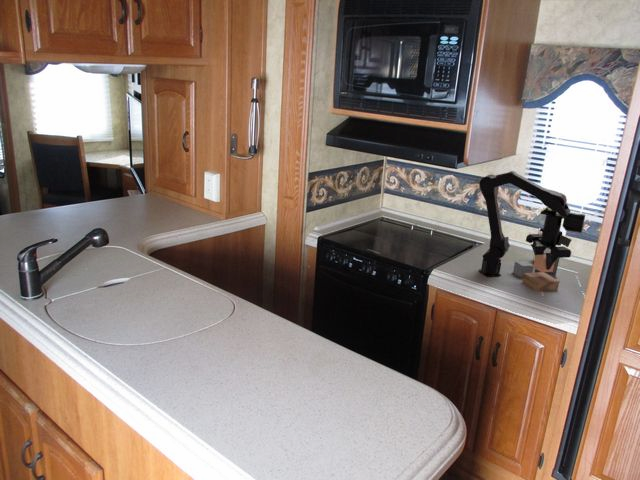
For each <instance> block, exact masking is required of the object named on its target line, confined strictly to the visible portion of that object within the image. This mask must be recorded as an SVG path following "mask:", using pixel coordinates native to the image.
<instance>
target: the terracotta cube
mask: <svg viewBox="0 0 640 480" xmlns="http://www.w3.org/2000/svg"><path fill="white" fill-rule="evenodd" d="M554 264H555V262H554ZM554 264H553V265H552V267H551V268H550V269H549V270H547V269H546V254H545V255H535V260H533V264H532V265H533V269H534V270H535V269H537V270H538V271H540V272H553V268H554Z"/></svg>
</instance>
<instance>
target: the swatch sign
mask: <svg viewBox="0 0 640 480" xmlns="http://www.w3.org/2000/svg"><path fill="white" fill-rule="evenodd" d="M543 255H544V254H543ZM560 259H561V258H557V260H556V261H555V264H554V268H553V272H545V273H546V274H548V275H550V276H551V277H553V278H555V279H557V271H558V267H559V264H560ZM536 272H540V271H538V270H537V269H535V268H534V271H533V273H536Z"/></svg>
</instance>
